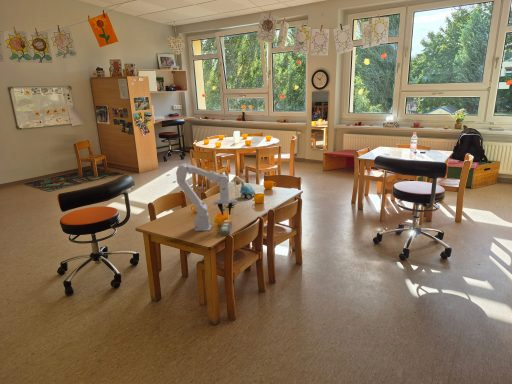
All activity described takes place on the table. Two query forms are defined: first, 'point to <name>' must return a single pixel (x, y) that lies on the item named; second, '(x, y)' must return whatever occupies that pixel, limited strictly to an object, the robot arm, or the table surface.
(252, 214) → the table surface
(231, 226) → the grey button panel
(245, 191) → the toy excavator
